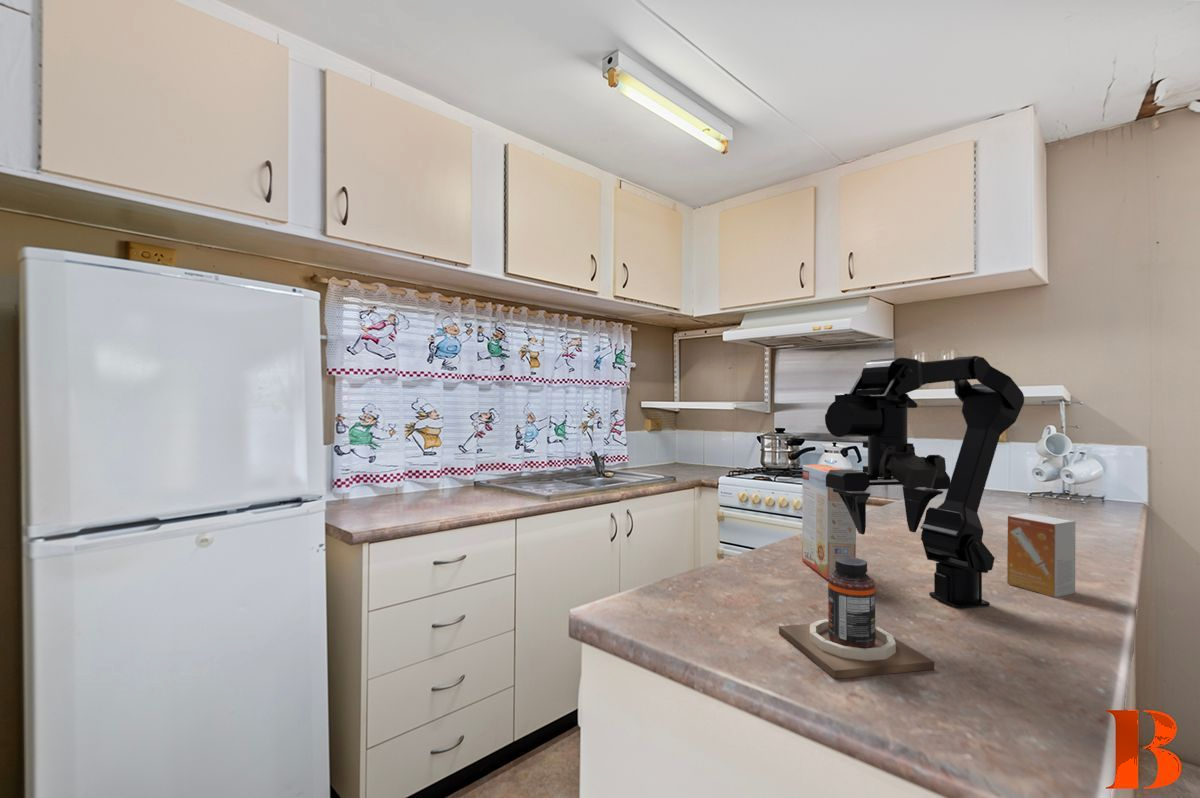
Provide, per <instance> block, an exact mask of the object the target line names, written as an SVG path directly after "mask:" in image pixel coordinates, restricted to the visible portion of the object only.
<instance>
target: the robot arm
mask: <svg viewBox="0 0 1200 798" xmlns="http://www.w3.org/2000/svg"><path fill="white" fill-rule="evenodd" d="M969 380H977V381H978V382H979V383H975V384H971V382H970V381H969ZM952 381H953V382H954V394H955V395H956V397H957V398H958V399H959V401H960V402H961V403H962V407H961V413H962V416H963V419H964V422H965V424H966V430H965V433H964V437H963V440H962V441H961V446H960V450H959V453H958V456H957V458H956V462H955V465H954V467H953V472H952V476H951V477H950V475H949V474H948V473H947V472H946V471H947V467H946V458H945V457H943V456H942V455H940V454H928V455H927V456H926V457H925V456H918V455H916V451H915V446H914V443H909V442H908V409H916V408H917V407H918V403H917V402H916V401H915V400H913V399H912V398H911V396H909V393H911V392H913V391H916V390H919V389H920V388H921V387H922V386H924V385H927V384H933V383H942V382H943V383H944V382H945V383H946V382H952ZM1024 403H1025V395H1024V393H1023V391H1022V389H1020V387H1019V386H1018V385H1017V384H1016V382H1015V381H1014V380H1013V378H1011V376H1010V375H1008V374H1005V373H1004V372H1003V371H1001V370H999V369H997V368H996V367H993V366H991V364H989V362H988V361H987V359H985V358H984V357H982V356H980V355H979V356H978V355H969V356H957V357H954V358H951V359H940V360H931V361H920V360H918V359H916V358H915V359H914V358H910V357H909V358H908V357H894V358H893V357H892V358H881V359H880V358H879V359H872V360H867V361H866V362H865V363H864V366H863V368H862V370H861V373H860V374H859V376H858V377H857V379H856V381H855V383H854V385H853V386H852V388H851V389H850V391H849V392H848V393H835V394H834V401H833V402H832V403H831V404H830V405H829V406H828V408H827V410H826V414H825V415H824V424H825V427H826V428H827V431H828V432H829V433H830V434H831V435H832V436H833V437H836V438H849V437H850V438H858V437H859V438H860V437H867V441H865V440H863V441H862V448H865V449H867V465H862V471H860V470H859V471H858V470H854V469H853V470H852V469H847V468H846V469H844V470H830V471H829V472H828V474H827V475H826V487H830V488H833V492H836V493H839V495H840V497H841V499H842V500H843V502H844V504H845V505H846V507H847V509H848V511H849V513H850V515H851V518H852V520H853V522H854V524H855V526H856V532H858V534H859V535H865V533H866V527H867V526H866V525H867V521H866V520H867V517H866V514H867V513H866V511H867V509H866V507H867V504H866V503H867V501H868V499H869V498H870V496H871V493H870V492H867V491H866V490H868V488H869V487H870V486H898V485H899V486H902V492H903V493H902V494H903V500H904V508H905V517H906V523H907V527H908V531H909V532H911V533H917V530H918V528H919V526H920V523H921V520H922V518H923V515H924V513H925V516H924V521H923V523H922V524H921V526H920V530H921V536H920V540H921V542H922V545H923V549H924V552H925V556H926V559H927V560H928V561H932V562H935V571H934V575H933V577H934V578H933V582H934V583H933V585H934V591H931V592H929V596H930V597H932V598H935V599H936V600H939V601H941V602H944V603H946V604H948V605H950V606H953V607H955V608H957V609H958V608H959V609H961V608H973V607H974V608H975V607H988V606H990V605H991V602H989V600H985V599H983V593H982V592H983V584H982V583H983V573H984V574H987V573H989V571H992V570H993V569H994V568H993V567H994V563H995V556H994V555H993V553H992V552H990V550H989V549H988V547H987V546H986V544H985V543H984V542H983V536H984V527H983V525H982V522H981V520H980V516H979V515H978V514H979V513H978V512H979V507H980V504H981V500H982V498H983V494H984V490H985V487H986V484H987V480H988V477H989V474H990V470H991V467H992V464H993V460H994V457H995V453H996V451H997V447H998V443H999V440H1000V437H1001V435H1002V434H1003V433H1004V432H1005V431H1007V430H1008V429H1009V428H1010V427H1011V426H1012V425H1013V424H1015V423H1016V421H1017V420H1018V417H1019V416H1020V412H1021V410H1022V408H1023V406H1024V405H1025V404H1024ZM917 409H918V408H917ZM943 490H946V491H947V492H946V494H945V497H944V500H943V503H941V504H940V505H939V506H937V507H932V506H929V507H928V505H929V503H930V501H931V500H933V499H934V498H936V497H937V496H939V495H942V494H943V493H944V491H943ZM926 509H927V510H926Z"/></svg>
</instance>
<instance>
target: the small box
mask: <svg viewBox="0 0 1200 798" xmlns="http://www.w3.org/2000/svg"><path fill="white" fill-rule="evenodd" d="M1006 549H1007V550H1006V551H1007V553H1006V554H1007V558H1006V563H1007V565H1006V566H1007V567H1006V573H1007V575H1006V580H1007V581H1006V584H1007V585H1009V586H1015V587H1018V588H1022V589H1025V590H1027V591H1028V590H1029V591H1032V592H1035V593H1039V594H1042V595H1045V596H1049V597H1051V598H1060V597H1063V596H1067V595H1068V596H1069V595H1072V594H1073V595H1074V594H1075V593H1076V521H1075V520H1070V519H1063V518H1058V517H1053V516H1047V515H1039V514H1034V513H1027V512H1025V513H1017V514H1016V513H1015V514H1011V515H1010V514H1009V515H1007V548H1006Z"/></svg>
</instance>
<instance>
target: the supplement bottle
mask: <svg viewBox="0 0 1200 798" xmlns="http://www.w3.org/2000/svg"><path fill="white" fill-rule="evenodd" d="M835 568H836V570H835V571H834V573H832V574H831V575H830V576H829V578H828V580H827V586H828V587H827V593H828V594H827V595H828V596H827V599H828V600H827V601H828V602H827V603H828V605H827V606H828V607H827V608H828V612H827V613H828V631H829V638H830V639H831V640H832V641H833V642H834V643H837V644H840V645H843V646H849V647H856V648H863V649H865V648H871V647H873V646H874V644H875V626H876V583H875V580H874V578H872V577H871V576H870V575H868V574H867V572H868V562H867V561H866V560H864V559H862V558H859V557H856V558H855V557H838V558H836V564H835Z"/></svg>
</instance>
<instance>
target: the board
mask: <svg viewBox="0 0 1200 798" xmlns="http://www.w3.org/2000/svg"><path fill="white" fill-rule="evenodd" d="M810 624H811V623H806V624H805V623H803V624H791V625H779V626H778V633H779V635H781V637H783V638H784V639H786V641H788V642H789V643H790V644H792V645H793V646H794V647H795V648H797V650H799V651H800V652H801V653H803V654H804V655H805V656H806V657H807V658H809V659H810V660H811V661H812V662H814V663H815V664H816V665H817V666H818V667H820V668H821V669H822V670H823V671H825V673H827V674H828V675H830V676H831V678H833V679H835V680H838V679H846V678H847V679H848V678H857V677H869V676H879V675H890V674H899V673H911V672H920V671H930V670H933V671H934V670H935V661H934V660H933V659H931V658H929V657H927V655H925V654H922V653H921V652H919V651H918V650H916V649H914V648H913V647H911V646H909V645H907V644H905V643H904V642H902V641H901V640H899V639H897V638H895V637H894V636H893V638H894V641H895V643H896V653H895V654H893V655H892V656H890V657H889V658H887V659H881V660H870V661H864V660H857V659H850V658H843V657H840V656H837V655H834V654H831V653H829V652H826V651H823V650H821V649H820V648H818V647H817V646H816V645H814V644H813V643H812V642H811V641H810ZM818 634H819V635H820V636H822V637H823V638H824V639H826V640H828V641H831V642H833V641H832V640H831V639H830V638H829V631H828V630H824V631H822V632H820V633H818ZM885 644H886V643H884V642H882V641H881V640H879V639H878V638H876V637H875V644H874V646H873V647H871V648H877V647H882V646H883V645H885Z"/></svg>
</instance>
